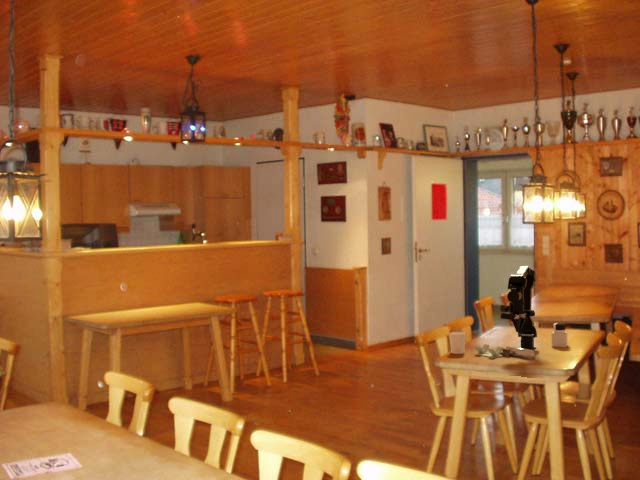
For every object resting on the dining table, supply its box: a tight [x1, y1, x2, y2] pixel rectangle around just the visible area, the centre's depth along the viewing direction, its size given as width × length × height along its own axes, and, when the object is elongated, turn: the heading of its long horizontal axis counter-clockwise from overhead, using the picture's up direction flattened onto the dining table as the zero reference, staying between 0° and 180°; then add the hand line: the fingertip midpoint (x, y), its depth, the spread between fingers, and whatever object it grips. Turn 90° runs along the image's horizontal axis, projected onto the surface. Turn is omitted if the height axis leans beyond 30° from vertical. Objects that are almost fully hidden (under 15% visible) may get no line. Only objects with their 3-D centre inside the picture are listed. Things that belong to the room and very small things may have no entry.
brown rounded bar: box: [505, 345, 536, 360], centre depth 373 cm, size 15×4×4 cm, turn 34°
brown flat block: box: [500, 346, 519, 357], centre depth 379 cm, size 8×8×4 cm
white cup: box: [449, 331, 466, 355], centre depth 386 cm, size 8×8×10 cm
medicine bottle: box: [551, 322, 568, 348], centre depth 398 cm, size 7×7×12 cm
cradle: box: [474, 344, 504, 359], centre depth 378 cm, size 8×12×4 cm, turn 34°
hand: (518, 332), depth 372 cm, fingers closed
